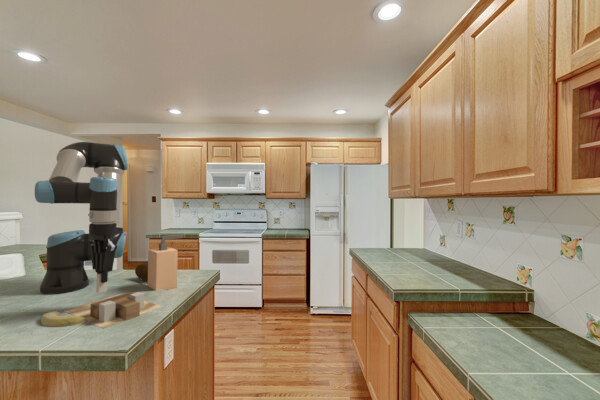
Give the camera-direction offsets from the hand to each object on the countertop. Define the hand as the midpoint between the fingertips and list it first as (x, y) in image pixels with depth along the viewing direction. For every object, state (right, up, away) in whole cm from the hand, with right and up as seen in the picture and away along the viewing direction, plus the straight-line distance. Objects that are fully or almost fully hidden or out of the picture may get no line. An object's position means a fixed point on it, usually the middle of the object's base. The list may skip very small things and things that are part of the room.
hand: (101, 291), depth 91 cm
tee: (+11, -5, -6) cm, 13 cm away
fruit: (-4, -6, -11) cm, 13 cm away
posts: (+11, -5, -6) cm, 14 cm away
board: (+6, -6, -2) cm, 9 cm away
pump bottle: (+11, -6, +23) cm, 26 cm away
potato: (-2, -6, +32) cm, 33 cm away
